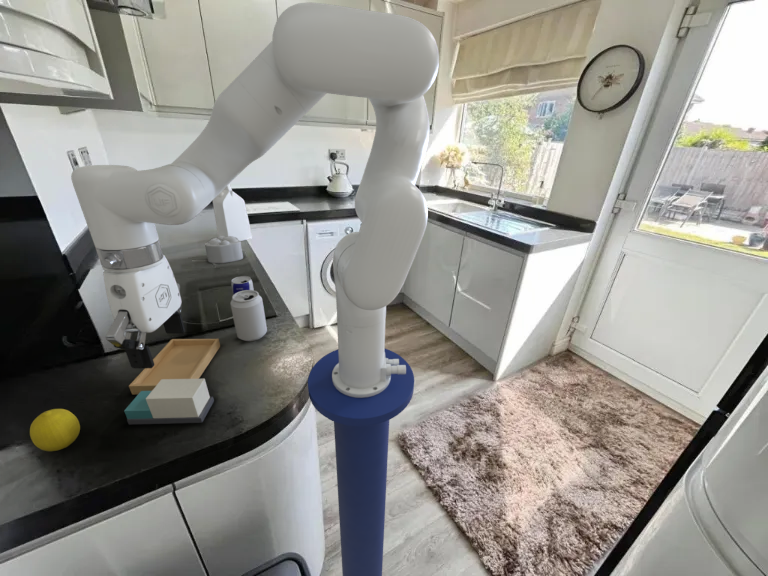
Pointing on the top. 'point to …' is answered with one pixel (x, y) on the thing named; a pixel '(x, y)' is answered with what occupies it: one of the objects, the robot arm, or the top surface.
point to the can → (248, 315)
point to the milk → (231, 215)
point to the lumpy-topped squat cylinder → (223, 249)
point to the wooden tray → (177, 363)
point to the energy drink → (241, 284)
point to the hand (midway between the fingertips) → (160, 348)
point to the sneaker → (171, 403)
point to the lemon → (54, 429)
